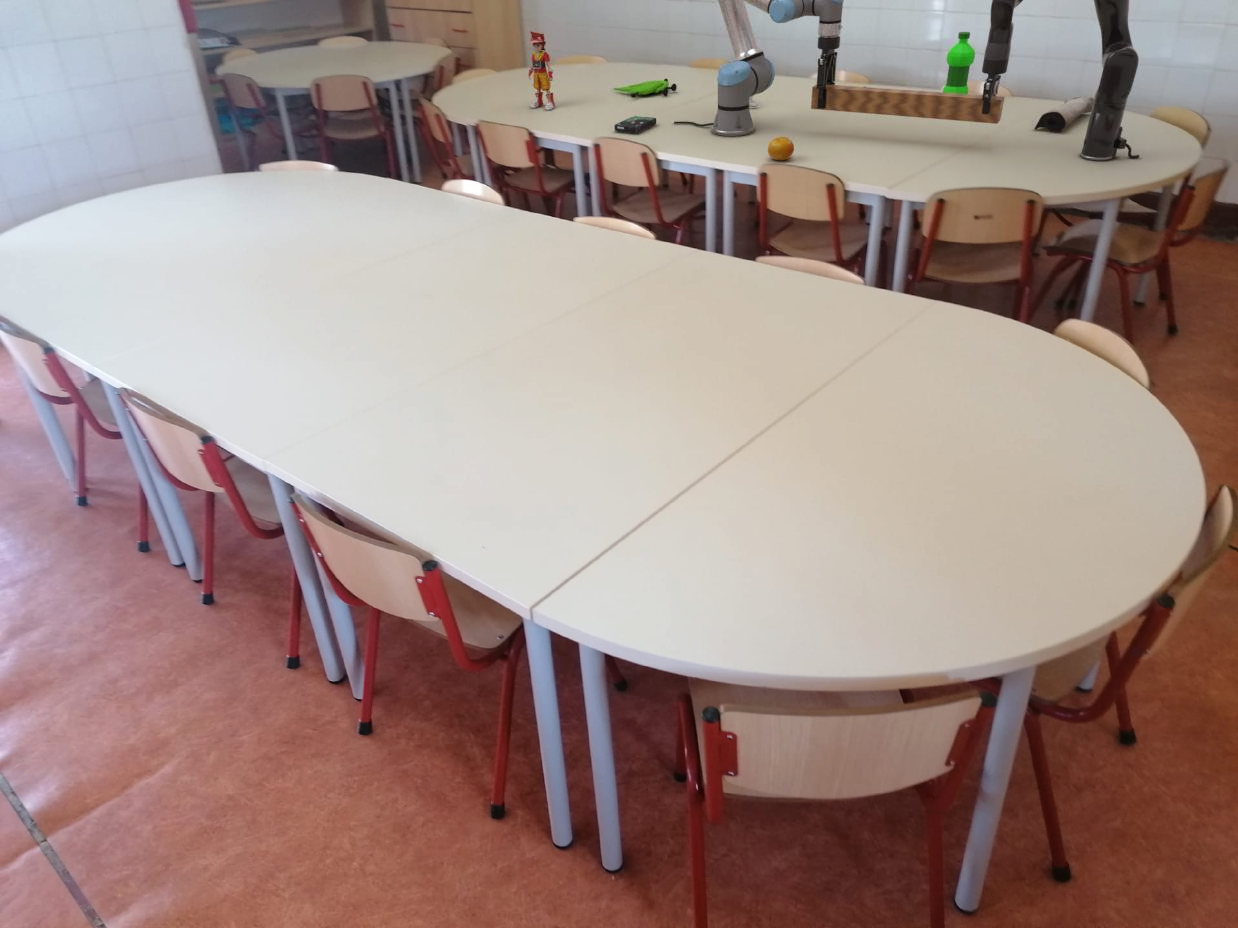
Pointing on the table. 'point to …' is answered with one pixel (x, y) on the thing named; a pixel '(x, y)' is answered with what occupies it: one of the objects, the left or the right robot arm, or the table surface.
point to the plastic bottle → (959, 65)
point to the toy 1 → (541, 71)
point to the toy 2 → (648, 88)
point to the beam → (909, 103)
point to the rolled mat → (1065, 114)
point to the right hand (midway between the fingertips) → (987, 111)
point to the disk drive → (635, 124)
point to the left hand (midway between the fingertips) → (824, 106)
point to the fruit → (780, 148)
